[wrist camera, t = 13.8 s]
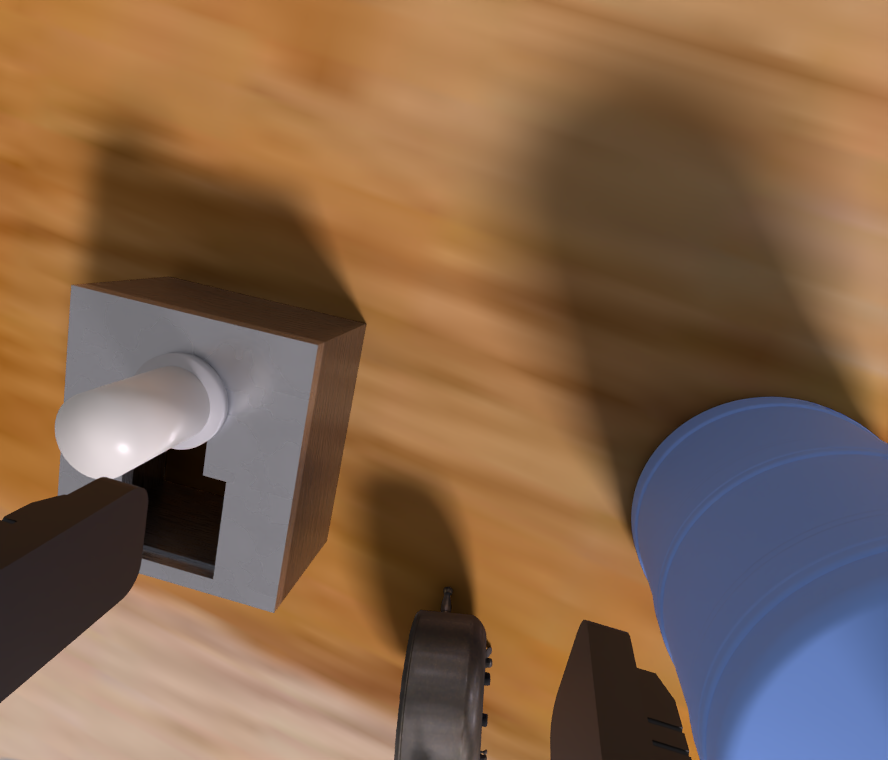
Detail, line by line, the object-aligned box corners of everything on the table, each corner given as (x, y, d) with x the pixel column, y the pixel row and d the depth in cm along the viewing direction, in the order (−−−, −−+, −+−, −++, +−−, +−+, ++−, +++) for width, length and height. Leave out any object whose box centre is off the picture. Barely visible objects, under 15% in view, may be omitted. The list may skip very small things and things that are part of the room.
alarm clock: (426, 569, 44) (361, 750, 28) (503, 577, 43) (480, 769, 27) (421, 703, 46) (358, 939, 30) (494, 713, 45) (468, 961, 30)
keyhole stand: (169, 276, 42) (71, 284, 33) (366, 323, 41) (317, 345, 32) (147, 490, 46) (54, 548, 37) (326, 540, 44) (273, 612, 36)
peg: (181, 332, 37) (45, 366, 27) (263, 353, 36) (156, 394, 26) (172, 415, 38) (39, 475, 28) (251, 435, 38) (145, 505, 27)
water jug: (582, 544, 41) (656, 1106, 14) (723, 344, 37) (1192, 606, 10) (787, 665, 41) (1259, 1479, 14) (952, 477, 37) (2066, 1109, 10)
